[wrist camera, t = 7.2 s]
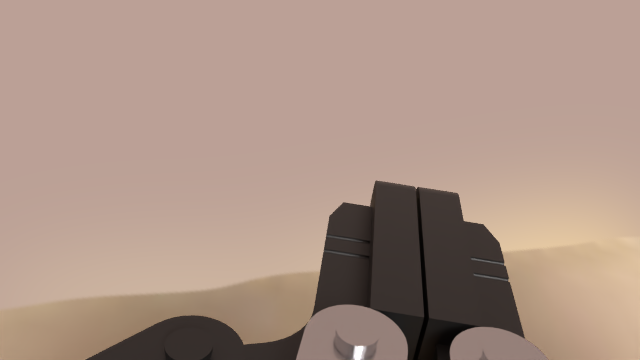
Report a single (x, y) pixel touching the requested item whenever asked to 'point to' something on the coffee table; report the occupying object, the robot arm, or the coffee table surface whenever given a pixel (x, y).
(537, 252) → the coffee table surface
